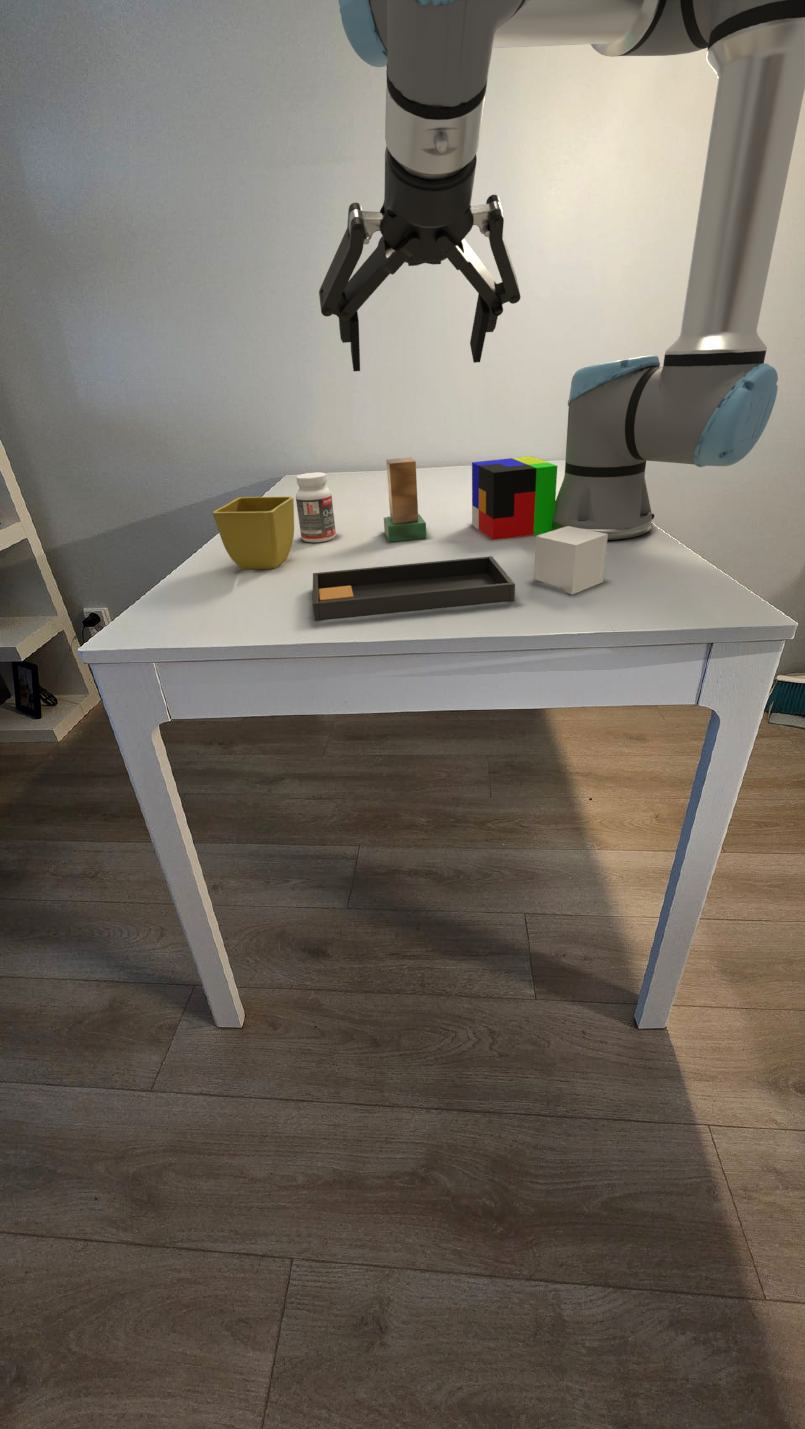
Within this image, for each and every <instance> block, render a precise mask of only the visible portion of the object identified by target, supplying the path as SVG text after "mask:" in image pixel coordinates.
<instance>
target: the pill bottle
mask: <svg viewBox="0 0 805 1429" xmlns="http://www.w3.org/2000/svg"><path fill="white" fill-rule="evenodd" d="M295 479H296V484H297V485H298V490H297V491H296V493H295V503H296V508H297V509H296V510H297V518H298V525H299V531H300V538H301V540H302V541H303V542H307V543H322V542H323V543H324V542H329V541H331V540H334V538H336V536H337V532H336V523H335V515H334V507H333V506H334V504H333V496H332V492H331V490H330V488H328V487H327V485H326V484H327V482H328V478H327V474H326V472H320V471H319V472H317V471H315V472H307V473H306V472H305V473H302V474H301V473H300V474H299V475H296V478H295Z"/></svg>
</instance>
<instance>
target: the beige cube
mask: <svg viewBox="0 0 805 1429" xmlns="http://www.w3.org/2000/svg"><path fill="white" fill-rule="evenodd" d="M607 538H608V534H605V533H600V532H595V531H591V530H586V529H581V528H576V527H571V526H566V527H563V528H560V529H557V530H554V531H550V532H547V533H544V534H537V535H535V550H534V551H535V552H534V569H533V570H534V571H533V572H534V573H533V580H534V581H539V582H541V583H545V584H548V585H552V586H555V587H559V589H561V590H562V591H563V592H564V593H565V594H569V595H571V596H572V595H575V594H577V593H580V592H583V591H585V590H587V589H590V588H592V587H594V586H597V585H599V584H602V583H604V578H605V568H606V567H605V566H606V557H607V548H608V547H607V546H608V540H607Z"/></svg>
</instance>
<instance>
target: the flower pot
mask: <svg viewBox="0 0 805 1429" xmlns="http://www.w3.org/2000/svg"><path fill="white" fill-rule="evenodd" d="M294 503H295V502H294V497H293V496H243V497H242V496H241V497H237V498H235V499H233V500H231V501H230V502H228V503H226V504H225V505H223V506H221V507H219V508H217V509H215V510H214V511H213V512H212V515H213V519H214V522H215V524H216V527H217V530H218V534H219V537H220V539H221V541H222V545H223V548H224V549H225V551H226V552H227V554H228V556H229V557H230V559H231V560H232V561H233V562H234V564H236V565H237V567H238V568H239V569H240V570H274V569H277V568H278V567H279V566H280V565H281V564H282V563H283V562H285V561H286V560H287V559H288V557H289V555H290V552H291V549H292V546H293V542H294V535H295V506H294V505H295V504H294Z"/></svg>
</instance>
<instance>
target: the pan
mask: <svg viewBox="0 0 805 1429" xmlns="http://www.w3.org/2000/svg"><path fill="white" fill-rule="evenodd" d="M341 586H351V588H352V592H353V596H354V598H351V599H341V600H331V601H321V602H320V598H319V589H322V588H332V587H341ZM515 594H516V583H515V582H514V581H513V580H512V578H511V577H510V576H509V574H507V573H506V571H505V570H504V569H503V568H502V567H501V565H500V564H499V562H498V561H497V560H496V559H495V558H494V557H493V556H492V555H488V556H479V557H467V558H458V559H447V560H435V561H426V562H415V563H406V564H405V563H403V564H395V565H384V566H373V567H363V568H362V567H361V568H353V569H343V570H334V571H321V572H313V573H312V608H313V609H312V610H313V618H314V621H315V622H319V621H320V622H321V621H329V620H337V619H339V620H340V619H349V618H358V617H359V618H360V617H370V616H378V615H388V614H397V613H408V612H417V611H418V612H419V611H429V610H436V609H447V608H456V607H467V606H478V605H488V604H497V603H507V602H515V599H516V598H515V596H516V595H515Z"/></svg>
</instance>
